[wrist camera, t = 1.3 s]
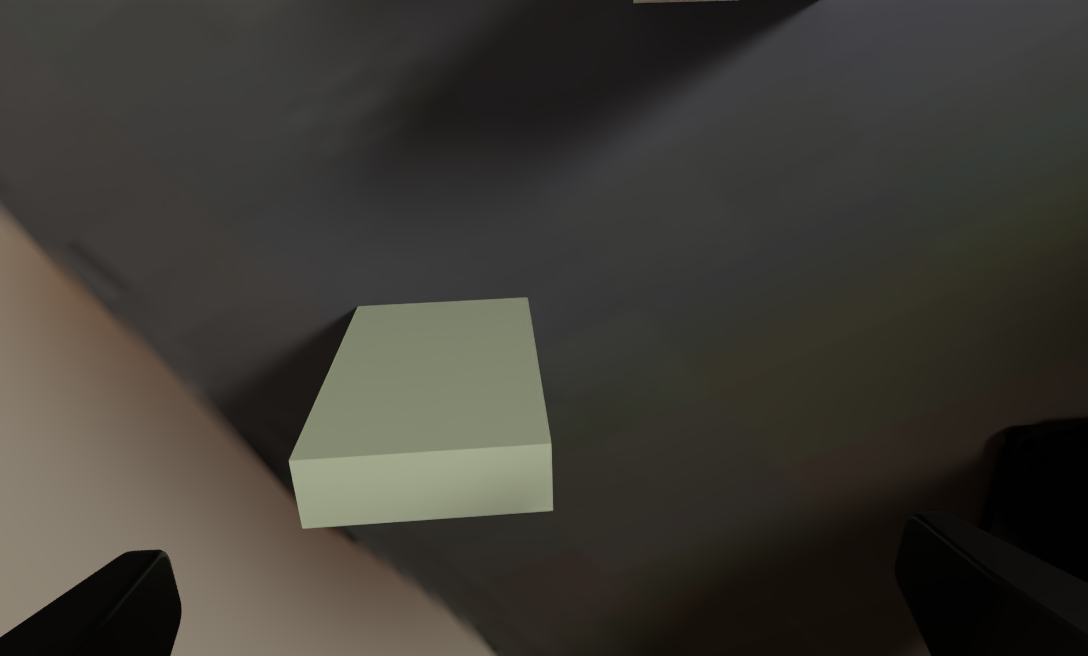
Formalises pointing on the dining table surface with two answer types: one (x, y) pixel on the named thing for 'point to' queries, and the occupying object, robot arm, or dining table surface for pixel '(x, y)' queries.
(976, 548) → the robot arm
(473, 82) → the dining table surface
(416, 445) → the tile
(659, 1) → the tile
